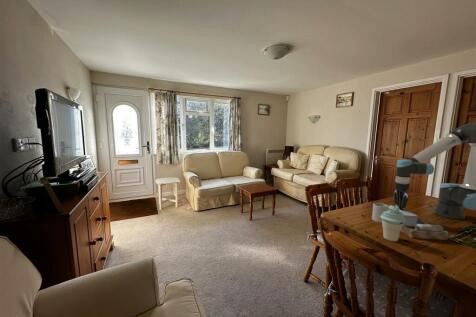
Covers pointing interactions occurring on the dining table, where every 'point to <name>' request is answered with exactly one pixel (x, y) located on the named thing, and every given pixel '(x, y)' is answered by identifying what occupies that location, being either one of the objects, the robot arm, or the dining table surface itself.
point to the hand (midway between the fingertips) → (398, 216)
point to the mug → (378, 211)
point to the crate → (409, 218)
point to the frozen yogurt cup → (392, 223)
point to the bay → (426, 231)
